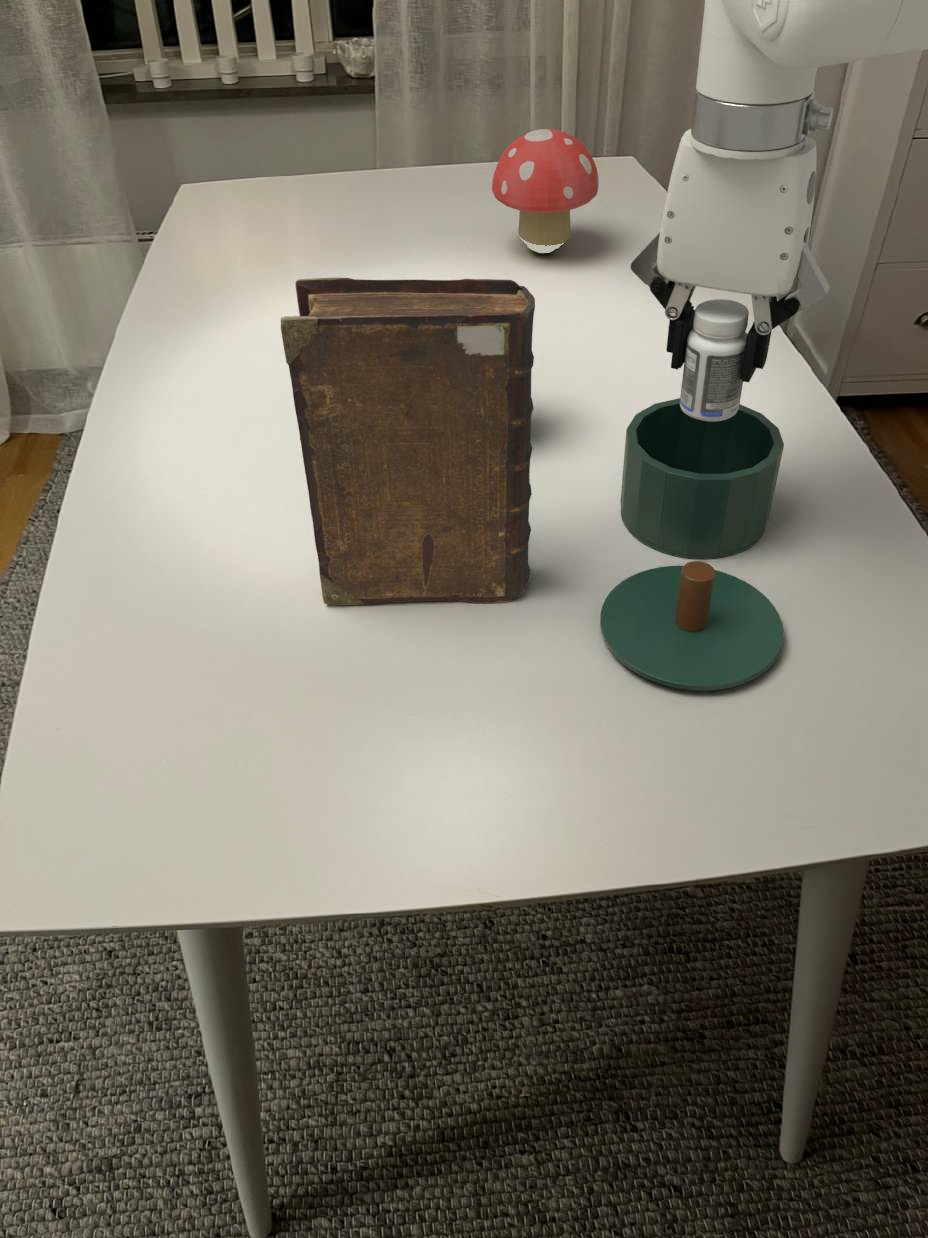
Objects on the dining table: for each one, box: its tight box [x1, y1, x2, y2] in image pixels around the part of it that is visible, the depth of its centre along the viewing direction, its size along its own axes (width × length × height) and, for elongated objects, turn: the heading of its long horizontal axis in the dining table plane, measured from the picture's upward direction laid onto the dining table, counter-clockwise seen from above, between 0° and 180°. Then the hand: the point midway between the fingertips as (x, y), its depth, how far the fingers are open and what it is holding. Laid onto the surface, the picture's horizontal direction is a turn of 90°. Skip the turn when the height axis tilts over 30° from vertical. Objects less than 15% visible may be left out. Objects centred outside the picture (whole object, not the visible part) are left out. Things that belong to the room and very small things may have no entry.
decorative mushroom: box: [491, 128, 600, 246], centre depth 128 cm, size 13×13×15 cm
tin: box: [619, 397, 785, 560], centre depth 87 cm, size 13×13×8 cm
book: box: [280, 277, 536, 606], centre depth 75 cm, size 17×7×25 cm, turn 83°
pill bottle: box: [679, 298, 750, 422], centre depth 80 cm, size 5×5×8 cm
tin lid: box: [599, 560, 784, 692], centre depth 76 cm, size 14×14×6 cm
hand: (714, 365), depth 80 cm, fingers closed on pill bottle, 4 cm apart
